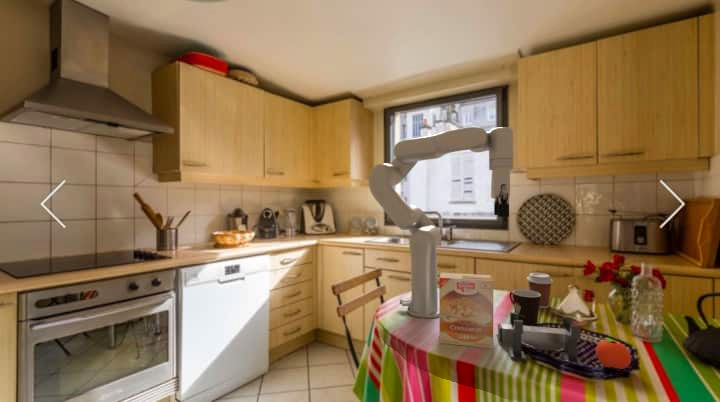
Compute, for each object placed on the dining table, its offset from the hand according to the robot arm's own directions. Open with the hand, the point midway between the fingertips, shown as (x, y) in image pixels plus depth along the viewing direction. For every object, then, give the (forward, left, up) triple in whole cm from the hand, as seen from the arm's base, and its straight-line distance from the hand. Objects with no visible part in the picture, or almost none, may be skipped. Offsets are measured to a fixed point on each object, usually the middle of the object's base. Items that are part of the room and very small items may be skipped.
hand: (501, 215), depth 110 cm
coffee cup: (+17, +23, -36) cm, 46 cm away
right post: (+14, -23, -36) cm, 45 cm away
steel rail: (+7, -14, -36) cm, 39 cm away
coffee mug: (+8, +4, -36) cm, 38 cm away
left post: (+1, -23, -36) cm, 43 cm away
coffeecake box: (-12, -17, -36) cm, 42 cm away
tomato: (+22, -24, -36) cm, 49 cm away
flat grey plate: (+7, -14, -36) cm, 40 cm away
